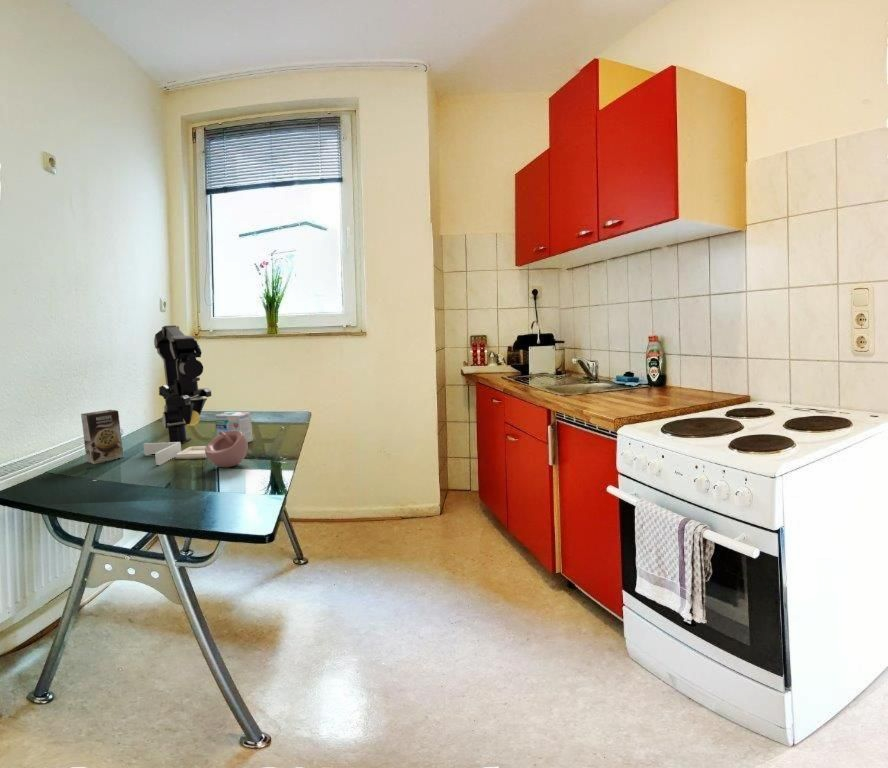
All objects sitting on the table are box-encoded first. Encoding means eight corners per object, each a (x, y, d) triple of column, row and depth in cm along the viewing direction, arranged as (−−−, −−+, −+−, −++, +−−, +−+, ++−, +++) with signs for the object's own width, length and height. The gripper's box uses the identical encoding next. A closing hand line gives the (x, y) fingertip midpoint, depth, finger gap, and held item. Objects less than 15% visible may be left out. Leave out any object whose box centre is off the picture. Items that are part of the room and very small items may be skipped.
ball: (188, 424, 175) (187, 409, 174) (203, 423, 175) (202, 408, 174) (181, 427, 170) (179, 412, 169) (196, 426, 170) (194, 411, 169)
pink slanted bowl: (198, 470, 156) (194, 432, 154) (231, 459, 166) (227, 424, 165) (225, 474, 150) (221, 435, 149) (258, 463, 160) (254, 426, 159)
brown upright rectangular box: (93, 464, 167) (87, 415, 165) (86, 461, 171) (79, 413, 169) (124, 457, 174) (118, 410, 172) (116, 455, 178) (110, 408, 176)
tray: (190, 451, 179) (190, 446, 179) (219, 450, 179) (219, 445, 179) (175, 459, 169) (175, 454, 169) (206, 458, 169) (205, 453, 169)
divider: (146, 454, 177) (144, 443, 176) (182, 453, 177) (181, 441, 176) (119, 467, 163) (117, 454, 162) (158, 465, 162) (157, 453, 162)
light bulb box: (216, 444, 188) (213, 414, 187) (229, 439, 195) (226, 411, 193) (241, 445, 185) (238, 415, 184) (253, 440, 192) (251, 411, 190)
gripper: (178, 373, 180) (183, 417, 182) (145, 380, 161) (151, 429, 163) (209, 372, 179) (214, 416, 181) (181, 378, 161) (186, 428, 163)
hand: (192, 422), depth 172 cm, fingers closed on ball, 5 cm apart
